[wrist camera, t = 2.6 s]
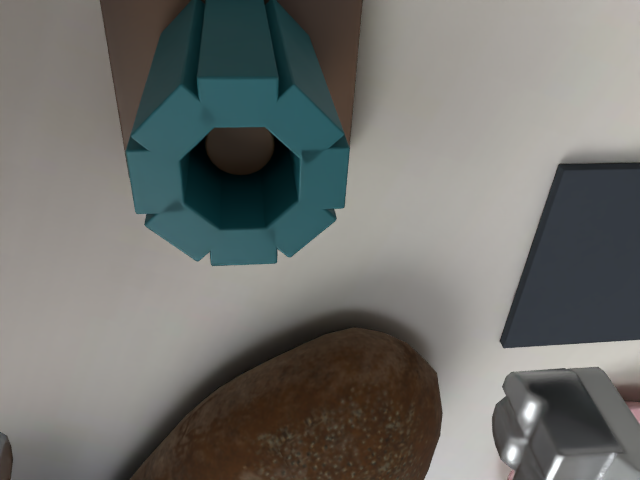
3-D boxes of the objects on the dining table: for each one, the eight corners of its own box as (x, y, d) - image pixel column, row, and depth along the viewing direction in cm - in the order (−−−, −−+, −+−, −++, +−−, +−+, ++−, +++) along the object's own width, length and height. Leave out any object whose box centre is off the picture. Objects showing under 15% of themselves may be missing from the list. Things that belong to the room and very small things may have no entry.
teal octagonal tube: (167, 140, 23) (144, 269, 16) (150, -11, 19) (112, 76, 13) (309, 139, 23) (339, 261, 17) (315, -7, 20) (356, 77, 14)
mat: (499, 341, 35) (503, 348, 34) (558, 163, 28) (564, 170, 27) (681, 330, 36) (687, 337, 36) (781, 160, 29) (790, 165, 29)
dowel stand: (133, 161, 25) (103, 273, 19) (96, -77, 19) (38, -27, 13) (341, 158, 26) (376, 262, 20) (360, -68, 21) (415, -18, 15)
